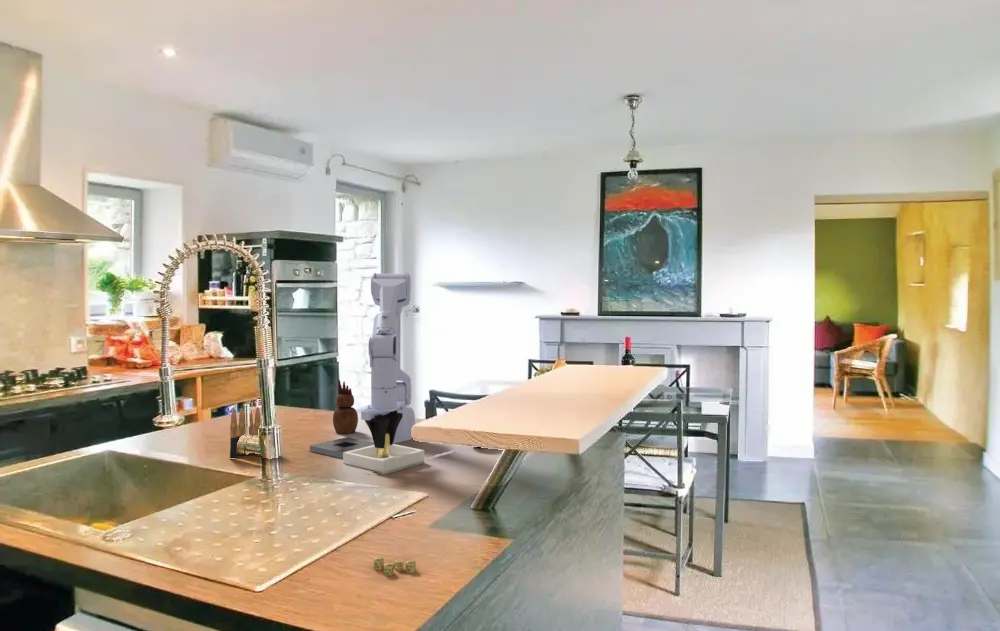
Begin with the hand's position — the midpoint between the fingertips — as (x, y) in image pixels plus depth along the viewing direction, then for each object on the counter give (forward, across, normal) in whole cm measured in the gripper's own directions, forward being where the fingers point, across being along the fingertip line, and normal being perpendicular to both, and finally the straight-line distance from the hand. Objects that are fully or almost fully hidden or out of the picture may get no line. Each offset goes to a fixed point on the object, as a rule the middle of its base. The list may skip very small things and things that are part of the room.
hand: (384, 446), depth 163 cm
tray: (+4, 0, 0) cm, 4 cm away
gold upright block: (+2, 0, 0) cm, 3 cm away
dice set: (+5, +49, +36) cm, 61 cm away
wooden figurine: (+4, -22, -28) cm, 36 cm away
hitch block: (+4, -5, -15) cm, 16 cm away
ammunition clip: (+4, +8, -32) cm, 33 cm away
